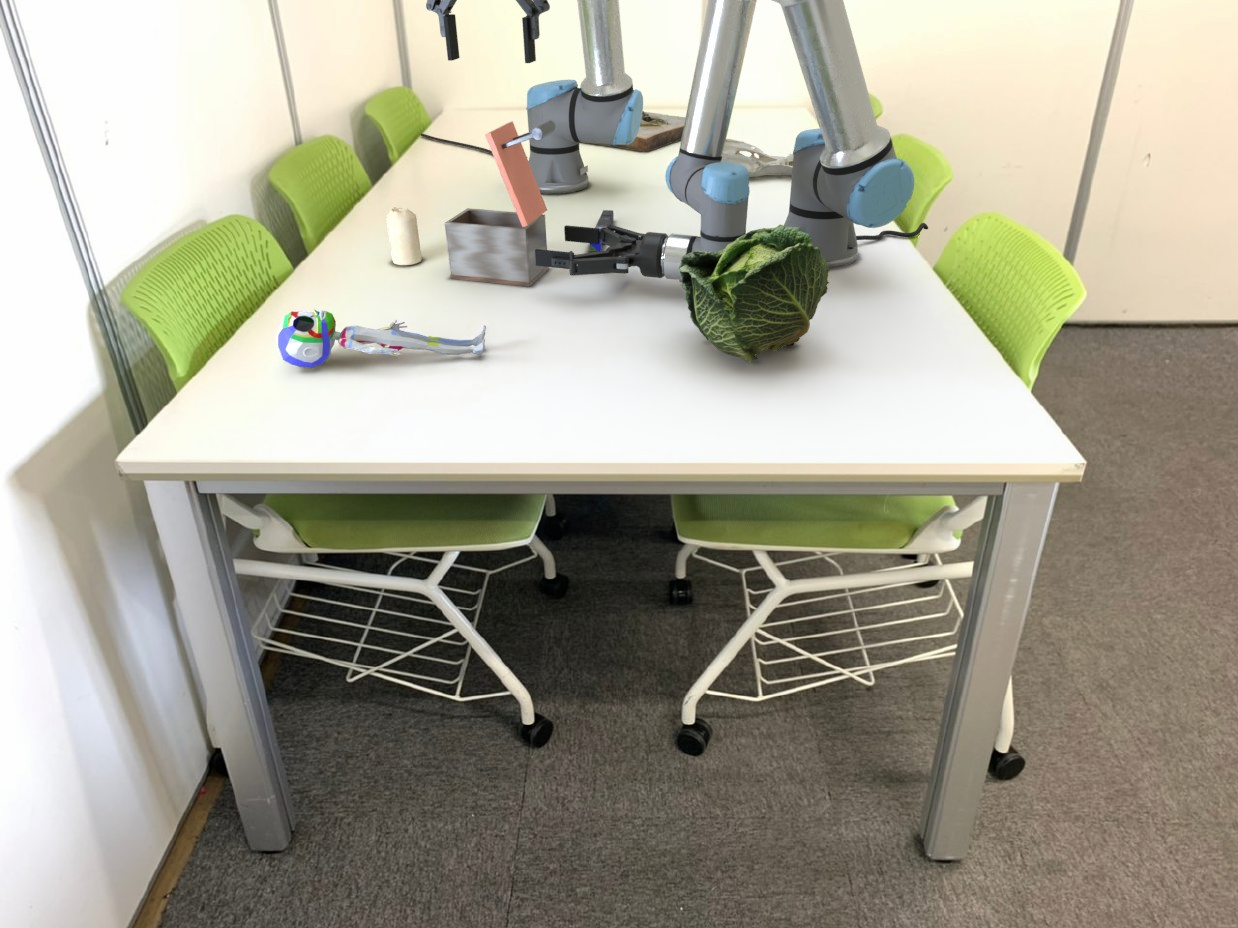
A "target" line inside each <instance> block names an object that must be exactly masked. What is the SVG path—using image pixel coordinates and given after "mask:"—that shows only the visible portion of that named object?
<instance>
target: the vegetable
mask: <svg viewBox="0 0 1238 928" xmlns="http://www.w3.org/2000/svg"><path fill="white" fill-rule="evenodd" d="M679 271H680V274H681V279H682V282H681V286H682V289H683V290H684V291H685V292H686V293H685V301H686V304H687V310H688V311H689V312H690V313H689V314H690V315H689V318H690V319H691V322H692V324H693V325H694V326H695V327H697V329H698V330H699V332H700V333H701V335H702V336H703V337H704V338H705V339H706V340H707V341H710V342H711V344H712V345H713V347H715V348H717V349H718V350H720V351H721V352H722V353H724V354H726V355H729V356H732V357H737V358H741V359H744V360H746V361H747V362H748V363H749V364H751V363H752V360H759V358H758V357H757V356H756V355H759V354H761V353H762V352H763V351H765V350H769V351H773V352H780V350H781V349H782V348H785V347H792V346H793V347H794V346H795V344H796V343H799V341H800V340H801V337H803V336H805V335H806V334H807V333H808V331H809V329H810V324H811V322H810V321H811V320H813V318H814V316H815V314H816V312H817V310H818V305H819V303H820V301H821V299H822V297H824V296H825V295H826V294H827V292H828V290H829V289H828V285H829V283H830V281H828V277H829V272H830V268H828V267H827V263H826V260H825V259H824V258H823V257H822V255H821V251H820V250H819V249H818V247H815V248H814V247H813V245H812V240H811V237H810V236H809V234H806V233H804V232H802V231H800V228H799V227H786V226H785V225H784V224H779V225H777V226H776V227H769V228H768V227H767V228H766V227H762V228H757V229H754V230H753V229H752V230H750V231H747V232H746V234H744V235H742V236H741V237H739V238H737V239H736V240H735V241H734V242H733V243H730V244H728V245H727V247H726V248H725V249H723V250H720V251H718V252H711V251H698V250H697V251H694V252H691V253H688V254H687V255H684V256H683V257H682V258H681V263H680V266H679Z"/></svg>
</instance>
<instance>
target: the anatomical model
mask: <svg viewBox="0 0 1238 928" xmlns="http://www.w3.org/2000/svg"><path fill="white" fill-rule="evenodd" d="M741 152H748V153H750V154H751V155H750V156H747V155H744V154H743V153H741ZM755 154H756V155H757V156H758V157H756V156H755ZM793 156H794V155H793V153H790V154H788V155H787V156H780V155H779V156H778V155H770V154H767V153H765V152H764V150H762V149H760V148H759V147H758V146H755V145H752V144H750V143H747V142H744V141H741V140H737V139H732V138H726V141H725V146H724V150H723V155H722V160H721V162H732V163H735V164H741V165H743V166H745V167H746V168H747V169H748V172H749V178H757V177H761V176H767V175H768V176H770V175H778V176H779V175H781V176H792V168H793Z"/></svg>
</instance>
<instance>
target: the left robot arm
mask: <svg viewBox="0 0 1238 928" xmlns="http://www.w3.org/2000/svg"><path fill="white" fill-rule="evenodd" d="M457 1H458V0H426V3H425V8H426V10H428V11H431V12H432V13H433V12H434V13H435V14H436V15H437V16H438V24H439V32H440V36H441V37H442V38H445V45H446V55H447V56H446V57H447V61H449V62H451V61H455V60H459V59H460V50H459V38H458V30H457V20H456V19H457V18H456V14H454V13H453V14H452V10H453V8H454V6H455V5H456V3H457ZM515 1H516V2H517V4H518V6H520V8H521V9H522V10H523V12H524V14H525V16H523V17H522V18H521V21H522V35H523V36H522V38H523V53H524V63H525V64H531V63H534V62H536V61H537V56H536V55H537V54H536V41H535V40H539V39H540V35H541V34H540V20H539V19H540V15H542V14H543V13H546V12H548V11H550V9H551V6H550V3H549V1H548V0H515ZM576 2H577V11H578V12H577V13H578V20H579V28H580V37H581V45H582V46H581V47H582V55H583V62H584V72H585V77H584V78H583V80H582V81H581V83H580V85H579V84H578V82H577V80H575V79H559V80H552V81H546V82H543V83H538V84H535V85H532V86H531V87H530V88H529V89H528V90H527V93H526V109H525V110H526V113H527V114H526V115H527V127H528V132H531V131H532V130H533V129H534V128H535V127H537V126H539V125H541V124H543V123H544V122H546V121H549V120H550V121H553V122H554V123H555V126H556V129H555V131H554V132H553V133H551V134H550V135H548V136H546V137H545V138H543V139H541V140H535V139H534V138H532V139H529V140H528V142H529V157H528V162H529V164H530V167H531V169H532V172H533V175H534V177H535V180H536V182H537V185H538V187H539V190H540V192H541V194H543V195H544V194H545V195H562V194H570V193H576V192H579V191H583V190H584V189H586V188H587V187H589V175H588V173H589V165H585V164H584V161H583V158H582V156H581V153H580V143H583V144H592V143H597V144H596V145H598V144H612V145H628V144H630V143H632V142H633V141H634V140H635V138H636V136H637V134H638V131H639V128H640V124H641V119H642V112H643V111H644V96H643V93H642V91H641V90H638V89H636V88H635V89H634V84H633V82H634V81H633V78H632V77H631V76H630V75H629V74H628V73H626V70H625V60H624V59H625V57H624V45H623V35H622V34H623V33H622V23H621V22H622V21H621V11H620V1H619V0H576ZM579 86H580V87H579ZM419 135H420V137H423V138H426V139H428V140H432V141H433V140H434V141H437V142H441V143H447V144H450V145H455V146H460V147H465V148H469V149H473V150H477V151H481V152H485V153H488V154H490V155H493V153H492V151H491V149H488V148H484V147H480V146H477V145H472V144H469V143H464V142H459V141H454V140H449V139H444V138H440V137H435V136H432V135H430V134H429V135H428V134H426V133H422V132H421V133H420V134H419Z"/></svg>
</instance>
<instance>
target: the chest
mask: <svg viewBox="0 0 1238 928" xmlns="http://www.w3.org/2000/svg"><path fill="white" fill-rule="evenodd" d="M444 229H445V230H444V231H445V238H446V245H447V255H448V263H449V271H450V280H451V279H453V280H462V281H470V282H480V283H490V284H499V285H509V286H519V287H527V288H528V287H529V288H530V287H531V286H532V285H533V284H535V282H537V281H538V280H539V279H540V278H541V277H542V276H544V274H545V273H546V272H547V271H548V270H549V267H544V266H536V260H535V250H536V249H542V250H548V243H547V242H548V241H547V224H546V214H544V213H543V214H542V215H541V216H539V217H538V218H537V219H535V220H534V221H533V222H532V223H530V224H529V225H528V226H524V227H522V225H521V222H520V220H519V217H518V215H517V212H516V211H507V210H505V211H504V210H493V209H483V208H482V209H480V208H467V207H466V208H465V209H464V210H462V211H460V212H459V213H458V214H456V215H454V216H453V217H451V218H449V219H448V220H447V221H445V222H444Z"/></svg>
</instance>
